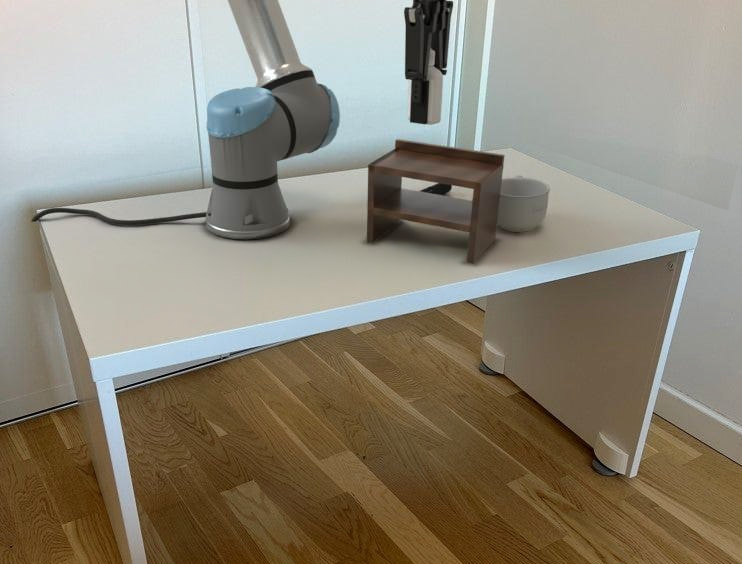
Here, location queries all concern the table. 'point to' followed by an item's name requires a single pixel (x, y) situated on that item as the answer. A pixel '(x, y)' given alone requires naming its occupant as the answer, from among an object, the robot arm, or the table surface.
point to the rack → (435, 209)
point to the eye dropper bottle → (431, 92)
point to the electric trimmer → (438, 189)
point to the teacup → (522, 203)
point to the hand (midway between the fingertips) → (424, 119)
